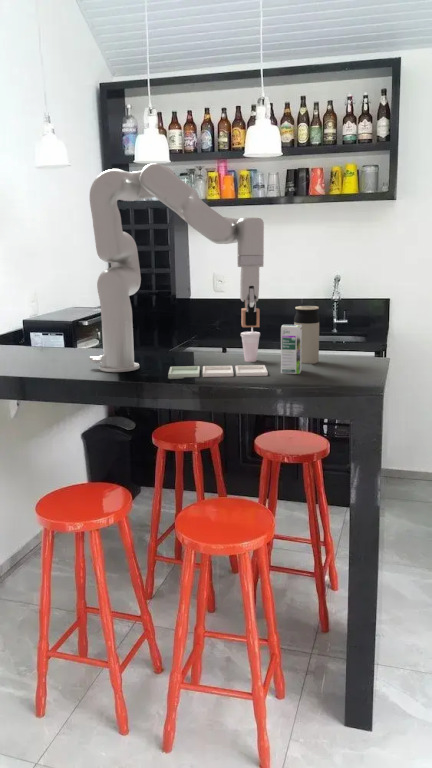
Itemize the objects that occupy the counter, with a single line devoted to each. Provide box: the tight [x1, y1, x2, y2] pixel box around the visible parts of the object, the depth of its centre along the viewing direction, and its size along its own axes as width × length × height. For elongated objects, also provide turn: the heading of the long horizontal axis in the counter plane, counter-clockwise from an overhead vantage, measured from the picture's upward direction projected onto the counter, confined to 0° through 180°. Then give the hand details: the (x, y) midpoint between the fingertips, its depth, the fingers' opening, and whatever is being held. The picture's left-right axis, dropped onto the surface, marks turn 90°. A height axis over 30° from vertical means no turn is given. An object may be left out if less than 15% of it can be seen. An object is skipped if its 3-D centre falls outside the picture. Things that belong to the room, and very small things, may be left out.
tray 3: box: [234, 364, 269, 377], centre depth 194 cm, size 9×11×2 cm
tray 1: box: [167, 365, 201, 380], centre depth 194 cm, size 9×11×2 cm
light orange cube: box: [241, 307, 261, 328], centre depth 191 cm, size 5×5×5 cm
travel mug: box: [293, 305, 320, 365], centre depth 209 cm, size 8×8×18 cm
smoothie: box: [240, 327, 261, 363], centre depth 212 cm, size 6×6×14 cm
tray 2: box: [202, 365, 235, 378], centre depth 194 cm, size 9×11×2 cm
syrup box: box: [280, 324, 302, 375], centre depth 193 cm, size 6×6×14 cm
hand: (250, 323), depth 191 cm, fingers closed on light orange cube, 5 cm apart
